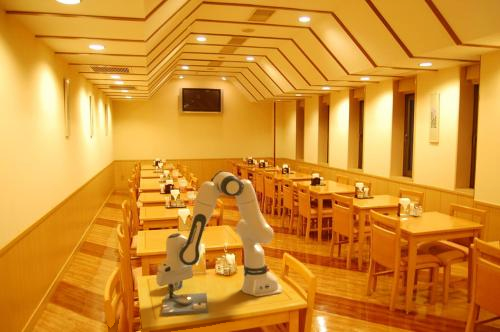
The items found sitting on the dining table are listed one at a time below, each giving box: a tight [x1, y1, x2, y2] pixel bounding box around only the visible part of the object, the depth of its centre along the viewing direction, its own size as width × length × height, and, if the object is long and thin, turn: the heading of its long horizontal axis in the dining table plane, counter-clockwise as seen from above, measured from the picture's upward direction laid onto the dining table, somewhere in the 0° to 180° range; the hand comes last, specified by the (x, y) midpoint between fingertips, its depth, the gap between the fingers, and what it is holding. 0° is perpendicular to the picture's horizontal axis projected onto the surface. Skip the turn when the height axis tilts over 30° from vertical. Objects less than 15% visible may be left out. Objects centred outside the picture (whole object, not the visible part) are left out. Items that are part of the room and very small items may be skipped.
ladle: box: [168, 285, 192, 306], centre depth 208 cm, size 15×7×6 cm, turn 53°
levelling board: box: [161, 292, 209, 317], centre depth 207 cm, size 23×20×4 cm
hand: (175, 289), depth 214 cm, fingers closed
